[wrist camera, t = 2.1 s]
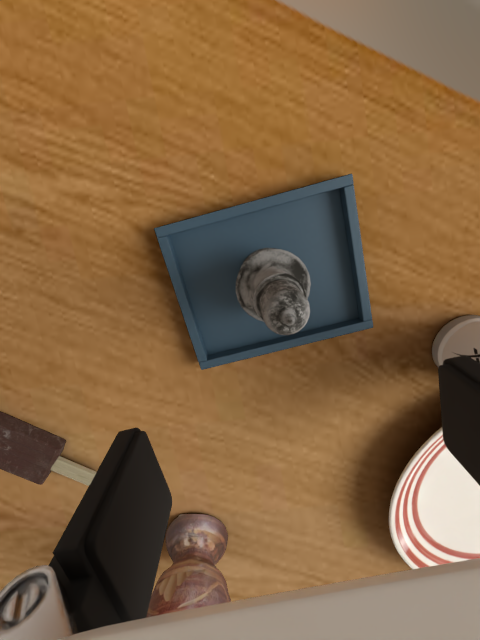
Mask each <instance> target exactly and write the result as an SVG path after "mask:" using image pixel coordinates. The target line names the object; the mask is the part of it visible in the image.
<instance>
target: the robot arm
mask: <svg viewBox="0 0 480 640" xmlns="http://www.w3.org/2000/svg"><path fill="white" fill-rule="evenodd" d="M438 375H439V389H440V403H441V418H442V432H443V440H444V443H445V445H446V447H447V449H448V450H449V451H450V453H451V454H452V455H453V456H454V457H455V458H456V459H457V460H458V462H459V463H460V464H461V465H462V466H463V467H464V468H465V470H466V471H467V472H468V473H469V474H470V475H471V476H472V478H473V479H474V480H475V481H476V482H477V483H478V484H479V485H480V363H479V362H477V361H475V360H474V359H472V358H471V357H469V356H467V355H462V356H458V357H453V358H449V359H445V360H444V361H443V365H440V366H439V368H438ZM171 507H172V497H171V493H170V490H169V488H168V485H167V483H166V480H165V478H164V476H163V473H162V471H161V468H160V466H159V463H158V461H157V458H156V456H155V453H154V451H153V449H152V446H151V444H150V441H149V439H148V436H147V434H146V432H145V431H140V429H139V428H133V429H128V430H124V431H120V432H119V433H118V434H117V436H116V438H115V440H114V441H113V443H112V445H111V447H110V449H109V451H108V452H107V454H106V456H105V458H104V460H103V462H102V463H101V465H100V467H99V469H98V471H97V473H96V474H95V476H94V478H93V480H92V482H91V484H90V485H89V487H88V489H87V491H86V493H85V495H84V496H83V498H82V500H81V502H80V504H79V506H78V507H77V509H76V511H75V513H74V515H73V517H72V518H71V520H70V522H69V524H68V526H67V528H66V530H65V531H64V533H63V535H62V537H61V539H60V541H59V542H58V544H57V546H56V548H55V550H54V552H53V554H54V557H53V559H52V560H51V562H50V564H49V566H47V565H41V566H36V567H33V568H31V569H28V570H26V571H25V572H23V573H21V574H20V575H18V576H17V577H15V578H14V579H13V580H12V581H11V582H10V583H8V584H7V585H6V586H5V587H4V588H3V589H2V590H1V591H0V640H480V558H477V559H471V560H465V561H459V562H453V563H447V564H441V565H436V566H430V567H424V568H418V569H412V570H406V571H400V572H395V573H389V574H383V575H378V576H372V577H366V578H361V579H355V580H349V581H344V582H338V583H332V584H327V585H321V586H315V587H310V588H304V589H298V590H293V591H287V592H282V593H276V594H270V595H265V596H260V597H254V598H249V599H243V600H238V601H232V602H227V603H221V604H216V605H210V606H205V607H200V608H194V609H189V610H183V611H178V612H172V613H167V614H162V615H157V616H152V617H148V618H146V617H147V612H148V608H149V603H150V599H151V595H152V590H153V586H154V581H155V577H156V573H157V568H158V564H159V560H160V555H161V551H162V546H163V542H164V538H165V533H166V529H167V524H168V520H169V516H170V511H171Z"/></svg>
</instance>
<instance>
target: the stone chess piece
mask: <svg viewBox="0 0 480 640" xmlns="http://www.w3.org/2000/svg"><path fill="white" fill-rule="evenodd" d="M310 286H311V282H310V276H309V273H308V270H307V268H306V266H305V264H304V263H303V262H302V261H301V260H300V259H299V258H298V257H297V256H295V255H294V254H292V253H291V252H288V251H285V250H282V249H276V248H263V249H259V250H257V251H255V252H253V253H251V254H250V255H249V256H248V257H247V258H246V259H245V260H244V262H243V264H242V265H241V268H240V270H239V272H238V276H237V279H236V294H237V299H238V301H239V303H240V305H241V307H242V308H243V309H244V310H245V311H246V312H247V314H248V315H250V316H252V317H253V318H255V319H257V320H260V321H263V322H265V324H266V326H267V327H268V328H269V329H270V330H271V331H273V332H275V333H276V334H280V335H291V334H294V333H296V332H298V331H300V330H301V329H302V328H303V327H304V326H305V325H306V323H307V321H308V319H309V315H310V307H309V302H308V300H307V299H308V296H309V294H310Z"/></svg>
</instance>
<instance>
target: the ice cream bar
mask: <svg viewBox="0 0 480 640" xmlns="http://www.w3.org/2000/svg"><path fill="white" fill-rule="evenodd" d="M65 443H66V440H65V439H63V438H60V437H58V436H56V435H54V434H51V433H49V432H47V431H44V430H42V429H40V428H37V427H35V426H33V425H31V424H28V423H26V422H24V421H21V420H19V419H17V418H14V417H12V416H10V415H8V414H5V413H3V412H1V411H0V469H2V470H4V471H7V472H9V473H12V474H14V475H17V476H19V477H22V478H24V479H27V480H29V481H32V482H34V483H37V484H40V485H41V484H43V483H44V481H45V480H46V478H47V477H48V475H49V474H50V472H51V471H54V472H56V473H59V474H61V475H63V476H66V477H68V478H71V479H73V480H76V481H78V482H80V483H83V484H85V485H88V486H89V485H90V484H91V482H92V480H93V478H94V476H95V474H96V473H97V472H95V471H94V470H91V469H89V468H87V467H84V466H82V465H79V464H77V463H75V462H72V461H70V460H68V459H65V458H63V457H61V456H60V454H61V452H62V451H63V449H64V446H65Z"/></svg>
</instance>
